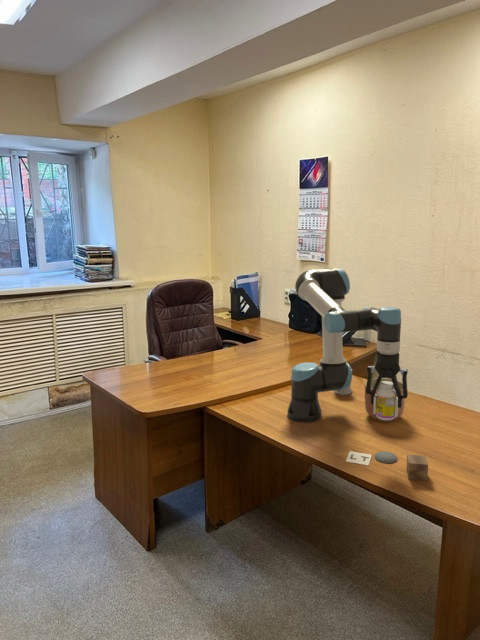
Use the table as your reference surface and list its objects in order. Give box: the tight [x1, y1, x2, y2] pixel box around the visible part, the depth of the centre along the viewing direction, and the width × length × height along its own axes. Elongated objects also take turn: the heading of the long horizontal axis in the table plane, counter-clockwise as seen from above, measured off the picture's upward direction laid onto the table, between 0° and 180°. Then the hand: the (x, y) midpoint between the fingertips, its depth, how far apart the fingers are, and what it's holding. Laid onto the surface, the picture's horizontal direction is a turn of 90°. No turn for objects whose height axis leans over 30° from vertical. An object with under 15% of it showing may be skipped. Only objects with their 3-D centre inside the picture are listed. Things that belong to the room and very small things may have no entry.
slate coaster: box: [374, 450, 398, 464], centre depth 170 cm, size 8×8×1 cm
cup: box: [333, 368, 353, 396], centre depth 234 cm, size 10×9×12 cm
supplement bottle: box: [376, 381, 396, 420], centre depth 165 cm, size 7×7×13 cm
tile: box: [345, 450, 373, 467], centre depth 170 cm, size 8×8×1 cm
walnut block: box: [405, 454, 429, 482], centre depth 158 cm, size 6×6×6 cm
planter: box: [364, 377, 406, 423], centre depth 203 cm, size 17×17×15 cm
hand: (385, 414), depth 166 cm, fingers closed on supplement bottle, 7 cm apart
